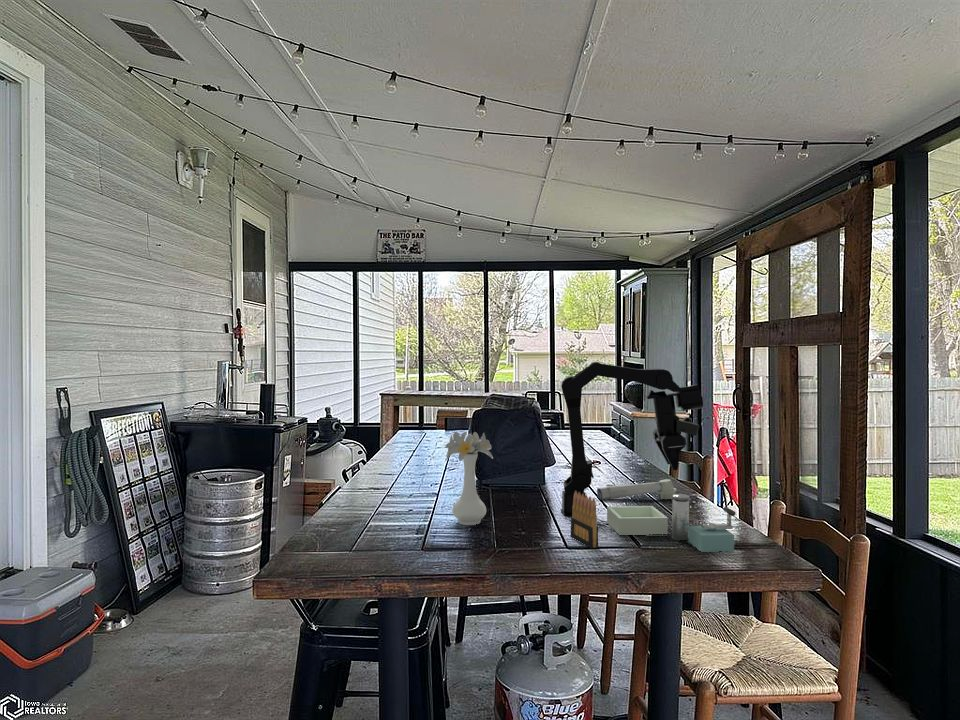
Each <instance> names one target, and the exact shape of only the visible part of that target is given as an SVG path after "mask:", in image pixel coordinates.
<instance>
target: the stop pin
mask: <svg viewBox="0 0 960 720" xmlns="http://www.w3.org/2000/svg"><path fill="white" fill-rule="evenodd" d="M690 498H691V497H690V495H689V494H685V493H676V494H673V495H672V499H671V500H672V506H671V507H672V511H671V513H672V520H671V521H672V522H671V526H672V527H671V528H672V529H671V539H672V538H673V539H672V540H674V539H676V540H675V541H677V540H688V539H689V526H690V525H689V524H690V501H691V499H690ZM688 541H689V540H688Z"/></svg>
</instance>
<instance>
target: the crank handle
mask: <svg viewBox="0 0 960 720" xmlns="http://www.w3.org/2000/svg"><path fill="white" fill-rule="evenodd" d="M722 510H723V512H725V513H726V523H714V522H706V523H703V524H701V526H702V528H703V529H707V530H711V531H714V530H716V529H726V530H733V528H734V527H733V524H732V519H733V518H732V517H734V516H736V512H735V511H734V510H733V509H731V508H729V507H727V506H724V507H723V509H722Z"/></svg>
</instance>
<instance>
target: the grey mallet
mask: <svg viewBox="0 0 960 720" xmlns="http://www.w3.org/2000/svg"><path fill="white" fill-rule="evenodd" d="M596 488H597V487H596ZM677 490H678V489H677V487H674V485H673V481H672V480H671V479H669V478H668V479H660V480H659V481H656V482H655V481H654V482H646V483H635V484H634V483H633V484H623V485H614V486H613V485H612V486H611V485H610V486H609V485H607V486H603V487H598V488H597V489H596V494H597V495H596V496H597V498H599V499H600V501H604V500H603V499H609V500H610V499H611V500H610V501H612V500H615V499H621V498H627V497H632V496H634V497H635V496H640V495H645V494H651V493H656V494H657V498H658V499H659V498H660V499H659V500H662V499H664V500H667V499H671V500H673V499H672V495H673V494H677V493H676V492H677ZM599 499H598V500H599Z"/></svg>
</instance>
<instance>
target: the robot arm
mask: <svg viewBox="0 0 960 720" xmlns="http://www.w3.org/2000/svg"><path fill="white" fill-rule="evenodd" d="M597 377H602V378H603V377H604V378H610V379H617V380H623V381H629V382H635V383H639V384H642V385H646V386H649V387H652V388H655V389H657V390H659V391H653V390H652V389H650V390H649V392H648V393H647V394H646V395H645V398H646V399H648V400H651V399H652V400H653V408H654V415H655V416H654V421H655V423H656V428H655V429H654V431H653V432H652V436H653V437H652V438H653V439H654V442H655V444H656V446H657V448H658V449H659V451H660V453H661V455H662V456H663V458H664V460H665V462H666V463H667V465H670V466H671V469H672V470H673V471H678V469H679V463H680V454H681V451H682V450H683V449H684V448H686V445H687V441H686V437H685V436H683V435H682V433H685V434H687V435H688V434H689V435H692V436H695V437H697V436H698V433H699V428H700V424H698V423H695V422H692V418H690V417H684V418H683V419H680V417H679V416H678V415H677V410H676V408H680V409H681V411H690V410H692V411H693V410H699V409H703V408H704V397H703V396H702V392H701V390H700V385H699V384H692V385H688V386H680V385H679V384H677V383H676V382H675V381H674V379H673V375H672V373H671V372H670V371H669V370H666V369H664V368H634V367H628V366H627V367H626V366H619V365H612V364H608V363H607V364H606V363H601V362H598V361H593V362H591V363H589V365H588V366H586V367H585V368H583V369H582V370H581V371H579V372H577V373H576V374H575V375H569V376H566V377H565V378H564V379H563V380H562V381H561V386H560V387H561V392H562V394H563V397H564V401H565V405H566V408H567V414H568V416H567V417H568V427H569V435H570V436H569V437H570V445H571V453H572V454H571V455H572V456H571V465H570V475H569V476H568V477H567V478H566V479H565V480H564V481H563V490H562V491H561V509H560V512H561V513H562V514H563V516H564V517H572V508H573V498H574V493H575V491H577V494H578V493H579V492H580V494H581V496H582V494H584V497H585V496H586V495H587V493H586V492H585V491H586V489H588V488H589V487H590V485H592V480H593V479H592V478H595V476H594V474H593V462H592V460H591V459H589V460H587V457H586V453H585V451H586V450H585V442H584V432H583V423H582V422H583V421H582V413H581V403H582V394H583V388H584V387H585V386H587V385H588V384H589V383H590V382H591V381H594V379H595V378H597ZM666 390H668V391H670V392H673V393H667V392H666Z"/></svg>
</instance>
